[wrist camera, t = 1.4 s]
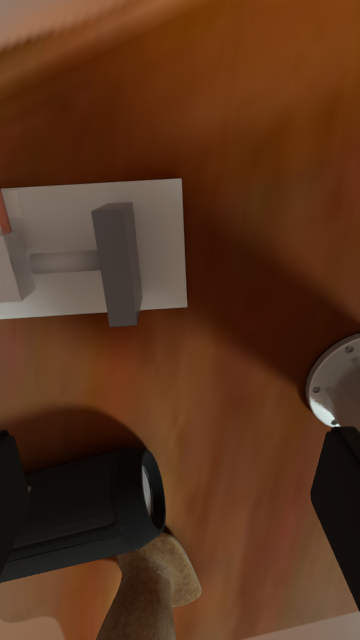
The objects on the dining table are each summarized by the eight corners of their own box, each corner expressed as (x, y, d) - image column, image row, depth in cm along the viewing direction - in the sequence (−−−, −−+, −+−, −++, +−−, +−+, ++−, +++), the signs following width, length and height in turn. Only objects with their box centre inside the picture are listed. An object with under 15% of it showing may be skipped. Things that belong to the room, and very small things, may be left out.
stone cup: (95, 535, 45) (64, 693, 31) (176, 517, 44) (182, 672, 30) (129, 591, 51) (116, 743, 37) (201, 576, 50) (215, 726, 36)
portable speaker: (141, 423, 37) (134, 504, 27) (168, 479, 41) (169, 566, 32) (-55, 476, 39) (-122, 568, 30) (-11, 524, 43) (-59, 618, 34)
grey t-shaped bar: (132, 202, 25) (123, 209, 20) (142, 296, 28) (137, 325, 23) (31, 208, 25) (-7, 216, 19) (53, 302, 28) (26, 332, 23)
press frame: (180, 178, 26) (188, 179, 18) (186, 303, 30) (194, 349, 22) (-142, 196, 25) (-288, 206, 17) (-87, 320, 30) (-181, 374, 22)
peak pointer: (6, 173, 23) (-15, 173, 21) (35, 288, 27) (21, 301, 24) (-21, 175, 23) (-46, 175, 21) (12, 290, 27) (-5, 303, 24)
